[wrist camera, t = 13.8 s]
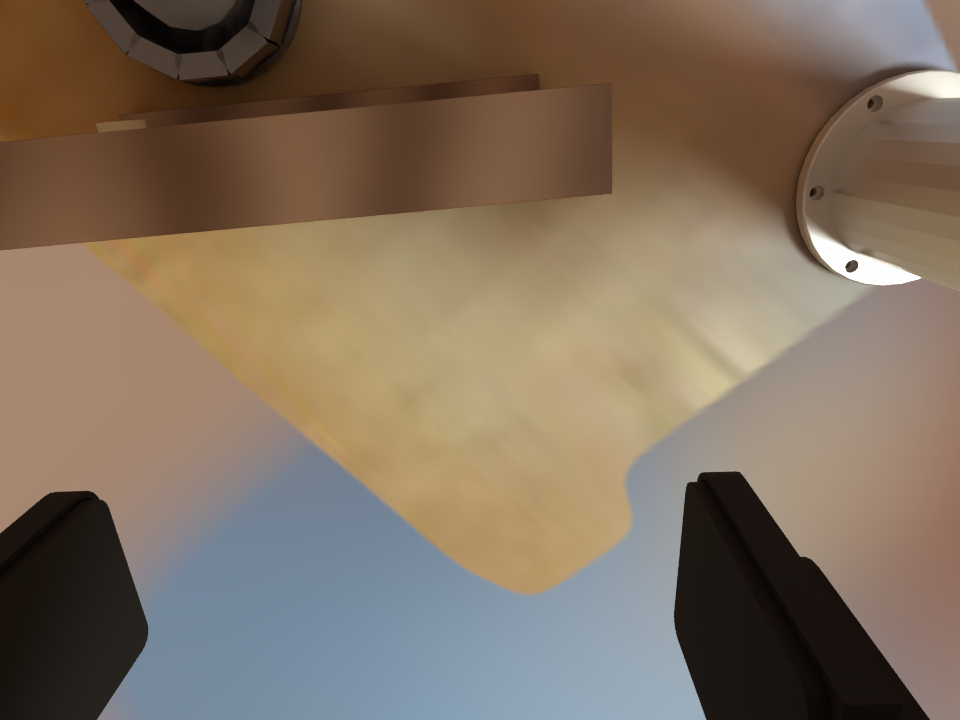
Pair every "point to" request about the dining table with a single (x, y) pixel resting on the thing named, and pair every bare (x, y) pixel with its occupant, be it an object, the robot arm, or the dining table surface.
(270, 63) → the socket
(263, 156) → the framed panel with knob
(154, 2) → the salt shaker
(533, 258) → the dining table surface
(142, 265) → the dining table surface
